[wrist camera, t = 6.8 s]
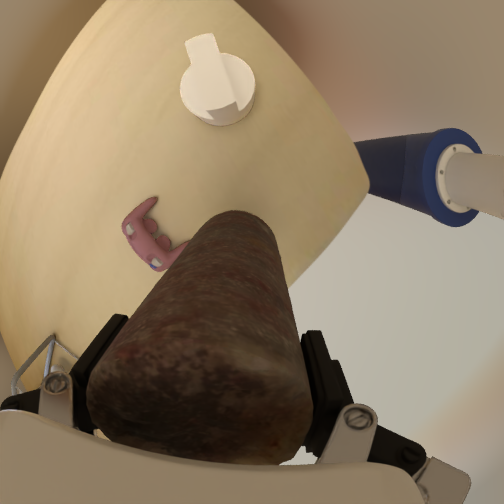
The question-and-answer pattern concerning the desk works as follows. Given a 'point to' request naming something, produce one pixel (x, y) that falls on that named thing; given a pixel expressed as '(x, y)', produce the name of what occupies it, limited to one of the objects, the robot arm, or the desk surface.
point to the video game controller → (149, 238)
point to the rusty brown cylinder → (210, 356)
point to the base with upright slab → (216, 83)
